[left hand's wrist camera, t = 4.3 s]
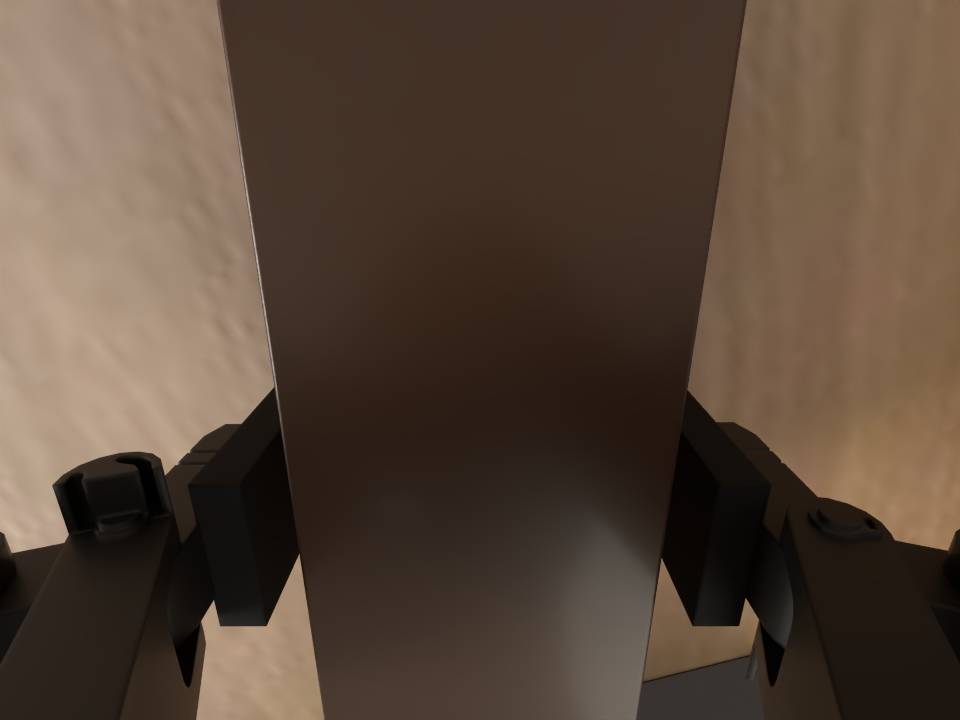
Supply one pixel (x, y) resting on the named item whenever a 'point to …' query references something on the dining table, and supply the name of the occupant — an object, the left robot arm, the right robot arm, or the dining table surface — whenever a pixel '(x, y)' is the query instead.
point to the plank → (481, 328)
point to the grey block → (704, 695)
